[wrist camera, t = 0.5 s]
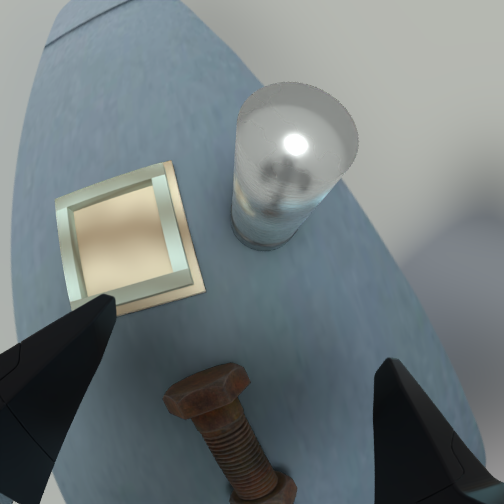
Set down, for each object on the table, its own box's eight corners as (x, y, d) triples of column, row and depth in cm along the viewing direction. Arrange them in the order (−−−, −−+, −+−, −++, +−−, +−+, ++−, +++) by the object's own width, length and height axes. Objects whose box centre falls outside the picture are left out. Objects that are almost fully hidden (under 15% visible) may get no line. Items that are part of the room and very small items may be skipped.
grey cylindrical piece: (304, 240, 24) (378, 172, 11) (241, 259, 23) (258, 200, 11) (284, 181, 24) (330, 76, 12) (222, 197, 24) (221, 91, 12)
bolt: (270, 507, 21) (194, 370, 23) (323, 503, 19) (250, 354, 21) (243, 551, 16) (145, 402, 17) (303, 553, 14) (207, 390, 15)
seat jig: (206, 291, 22) (203, 289, 20) (82, 325, 21) (68, 326, 19) (173, 166, 24) (168, 152, 22) (61, 204, 23) (48, 194, 20)
